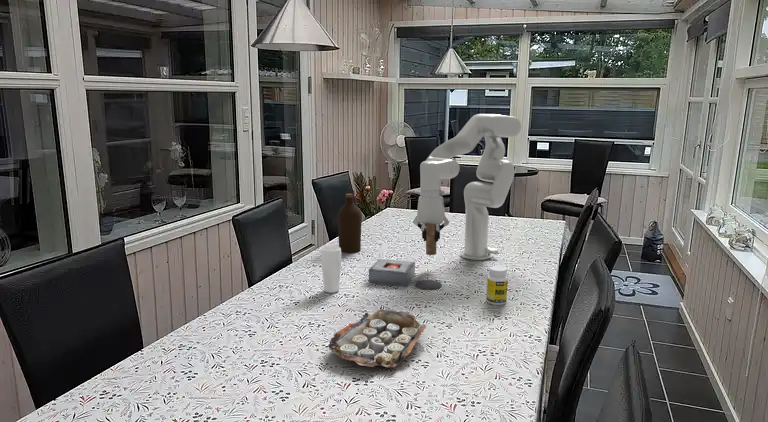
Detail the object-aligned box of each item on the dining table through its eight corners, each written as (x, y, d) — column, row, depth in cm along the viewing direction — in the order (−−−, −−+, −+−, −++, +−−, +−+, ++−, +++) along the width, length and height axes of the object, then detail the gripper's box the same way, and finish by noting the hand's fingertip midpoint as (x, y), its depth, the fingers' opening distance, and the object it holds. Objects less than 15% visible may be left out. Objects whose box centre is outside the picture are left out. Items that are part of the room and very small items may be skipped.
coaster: (442, 282, 189) (442, 280, 189) (439, 290, 181) (439, 289, 181) (418, 280, 192) (418, 278, 192) (413, 288, 183) (413, 286, 183)
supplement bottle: (494, 306, 167) (496, 272, 165) (482, 300, 172) (483, 267, 170) (510, 303, 170) (512, 269, 167) (497, 297, 175) (499, 264, 173)
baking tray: (399, 385, 121) (399, 363, 120) (314, 367, 128) (314, 346, 127) (434, 332, 148) (434, 314, 147) (362, 320, 156) (363, 303, 155)
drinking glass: (345, 289, 182) (344, 247, 179) (335, 295, 176) (334, 252, 173) (328, 286, 185) (327, 244, 182) (317, 292, 179) (317, 249, 176)
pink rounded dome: (399, 272, 195) (399, 265, 194) (396, 275, 190) (397, 269, 190) (388, 271, 196) (388, 265, 195) (385, 274, 192) (385, 268, 191)
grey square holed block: (414, 274, 198) (415, 261, 197) (407, 286, 185) (407, 272, 184) (378, 271, 202) (378, 258, 201) (368, 283, 189) (368, 269, 188)
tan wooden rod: (437, 252, 205) (436, 212, 202) (435, 255, 201) (435, 214, 198) (427, 251, 206) (426, 211, 203) (425, 254, 202) (424, 214, 199)
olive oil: (346, 255, 224) (346, 196, 219) (332, 249, 232) (332, 193, 227) (366, 250, 231) (366, 194, 226) (352, 245, 239) (352, 191, 234)
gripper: (454, 192, 200) (454, 238, 204) (410, 191, 204) (411, 237, 208) (451, 196, 193) (451, 244, 197) (406, 195, 197) (407, 242, 201)
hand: (431, 240), depth 203 cm, fingers closed on tan wooden rod, 4 cm apart
